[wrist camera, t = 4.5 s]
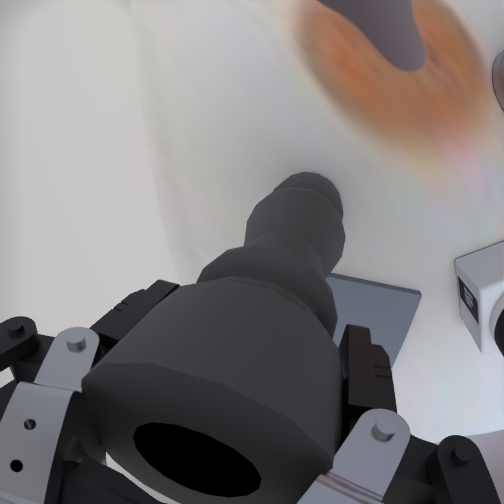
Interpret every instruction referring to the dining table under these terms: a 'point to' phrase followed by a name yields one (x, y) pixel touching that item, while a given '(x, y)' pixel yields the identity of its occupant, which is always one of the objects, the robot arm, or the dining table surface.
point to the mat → (374, 310)
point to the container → (483, 296)
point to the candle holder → (236, 365)
